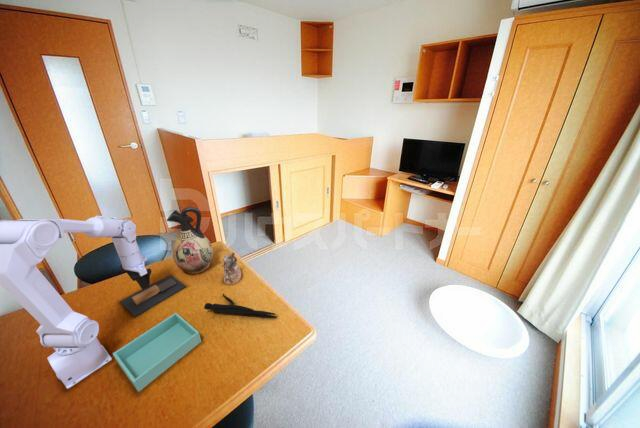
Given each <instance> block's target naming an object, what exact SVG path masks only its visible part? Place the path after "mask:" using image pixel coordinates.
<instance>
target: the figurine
mask: <svg viewBox="0 0 640 428" xmlns="http://www.w3.org/2000/svg"><path fill="white" fill-rule="evenodd" d="M222 260H223V264H222V266H221V267H222V268H223V277H222V278H223V282H224V283H225V284H227V285H234V284H237V283H238V282H239V281H240V280H242V272H241V267H240V266H239V264H238V259H237V257H236V256H235V252H232V253H231V254H228V253H227V254H226V255H225V256H224V257H222Z"/></svg>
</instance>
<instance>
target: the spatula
mask: <svg viewBox="0 0 640 428" xmlns="http://www.w3.org/2000/svg"><path fill="white" fill-rule="evenodd" d="M175 285H177V283H176V282H175V281H174V280H172V279H169V280H167V281H165V282H163V283H161V284H159V285H158V286H156V285H154V286H152V287H150V288H149V289H147V290H145V291H143V292H141V293H139V294H137V295H135V296H133V297H132V299H133V302H134V303H135V304H136V305H138V304H140V303H141V302H143V301H145V300H147V299H149V298H150V297H152V296H154V295H156V294H158V293H159V292H161V293H163V292H165V291H167V290H168V289H170V288H172V287H174V286H175Z"/></svg>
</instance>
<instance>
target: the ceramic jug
mask: <svg viewBox="0 0 640 428" xmlns="http://www.w3.org/2000/svg"><path fill="white" fill-rule="evenodd" d="M188 213H193V214H195V215H196V223H195V227H194V226H193V224H191V223H193V222H194V219H193V217H191V216H190V215H188ZM166 222H170V223H177V224H179V225H180V231H179V232H178V235H177V236H176V239H175V241H174V244H173V248H172V258H173V261H174V264H175V265H176V266H177V268H179V269H180V270H182V271H185V272H186V273H187V274H190V275H196V274H200V273H202V272H204V271H206V270H207V269H208V268H209V267H210V263H211V261H212V260H213V258H214V248H213V245H212V243H211V241H210V239H209V238H208V237H207V236H206V235H204V232H203V231H202V230H201V222H202V213H201V211H200V209H199V208H198V207H195V206H187V207H185V208H183V209H182V211H181V212H180V211H179V210H178V209H175V210H174V211H172V213H171V214H170V215H168V217H167V219H166Z"/></svg>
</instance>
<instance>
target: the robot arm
mask: <svg viewBox="0 0 640 428" xmlns="http://www.w3.org/2000/svg"><path fill="white" fill-rule="evenodd" d="M136 231H137V225H136V223H135V222H133V221H131V220H130V219H118V217H110V218H106V217H105V216H104V215H95V216H93V217H90V218H87V219H86V220H77V219H69V218H68V219H67V218H46V217H45V218H43V217H42V218H21V219H20V218H19V219H16V220H11V219H0V285H1V287H3V289H4V290H5V291H6V292H7V293H9V295H10V296H11V297H13V298H14V299H15V300H16V301H17V302H18V303H19V304H20V306H22V308H24V310H25V311H27V313H29V314H30V316H32V317H33V318H34V320H35V321H37V322H38V324H39V326H38V328H37V329H36V331H35V332H36V334H37V335H38V336H39V340H40V345H41V346H42V347H43V348H52V349H53V350H54V352H52V354H50V355H48V356H47V357H46V358H47V361H48V363H49V365H50V366H51V368H52V370H53V371H54V373H55V375H56V377H57V379H58V380H59V381H61V382H62V383H63V385H64V387H65V388H66V389H70V388H71V387H74V385H76V384H78V383H79V382H80V381H81V382H82V381H83V380H84V379H85V378H87V377H88V376H90V375H91V374H93V373H94V372H95V371H97V370H99V369H100V368H102V367H103V366H105V365H107V364H108V363H110V361H112V360H113V358H112V357H111V355H110V354H109V352H108V351H107V350H106V348H105V346H104V345H103V344H101V342H100V341H99V339H98V334H99V332H100V324H99V322H98V321H97V320H96V319H95V320H94V319H90V318H89V317H88V315H85V314H82V313H80V312H77V311H74V310H73V309H72V307H71V306H70V305H69V304H68V303H67V302H66V300H65V299H64V298H63V297H62V295H60V293H59V292H58V291H57V290H56V289H55V288H54V286H53V285H52V283H50V281H48V279H47V278H46V277H45V276H44V274H43V273H42V272H41V270H39V268H38V267H37V265H38V264H40V263H41V262H43V260H44V259H45V258H46V256H47V255H48V254H49V253H50V252H51V250H52V249H53V247H54V246H55V245H56V244H57V242H58V240H59V239H63V238H64V235H65V234H70V233H71V234H72V233H73V234H74V233H79V234H80V233H82V234H84V235H85V236H86V237H87V238H111V241H112V243H113V245H114V248H115V251H116V252H117V255H118V257H119V259H120V262H121V264H120V265H119V268H120V270H122V271H124V272H125V273H126V274H127V275H128V276H129V278H130V279H131V280H132V281H133V282H136V283H137V284H138V286H139V287H140V288H141V290H142V289H143V290H144V289H146V288H148V287H149V286H150V285H151V281H150V280H151V278H150V277H151V274H152V269H151V268H150V267H149V268H146V265H145V263H146V261H147V260H148V258H147V256H142V253H141V250H140V248H139V244H138V242H137V233H136Z"/></svg>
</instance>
